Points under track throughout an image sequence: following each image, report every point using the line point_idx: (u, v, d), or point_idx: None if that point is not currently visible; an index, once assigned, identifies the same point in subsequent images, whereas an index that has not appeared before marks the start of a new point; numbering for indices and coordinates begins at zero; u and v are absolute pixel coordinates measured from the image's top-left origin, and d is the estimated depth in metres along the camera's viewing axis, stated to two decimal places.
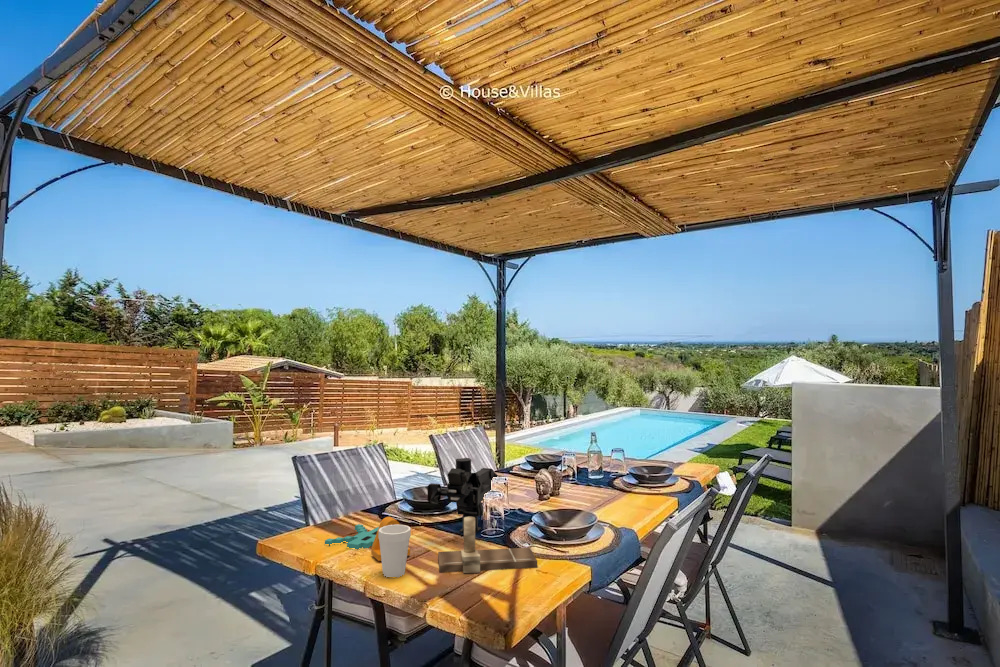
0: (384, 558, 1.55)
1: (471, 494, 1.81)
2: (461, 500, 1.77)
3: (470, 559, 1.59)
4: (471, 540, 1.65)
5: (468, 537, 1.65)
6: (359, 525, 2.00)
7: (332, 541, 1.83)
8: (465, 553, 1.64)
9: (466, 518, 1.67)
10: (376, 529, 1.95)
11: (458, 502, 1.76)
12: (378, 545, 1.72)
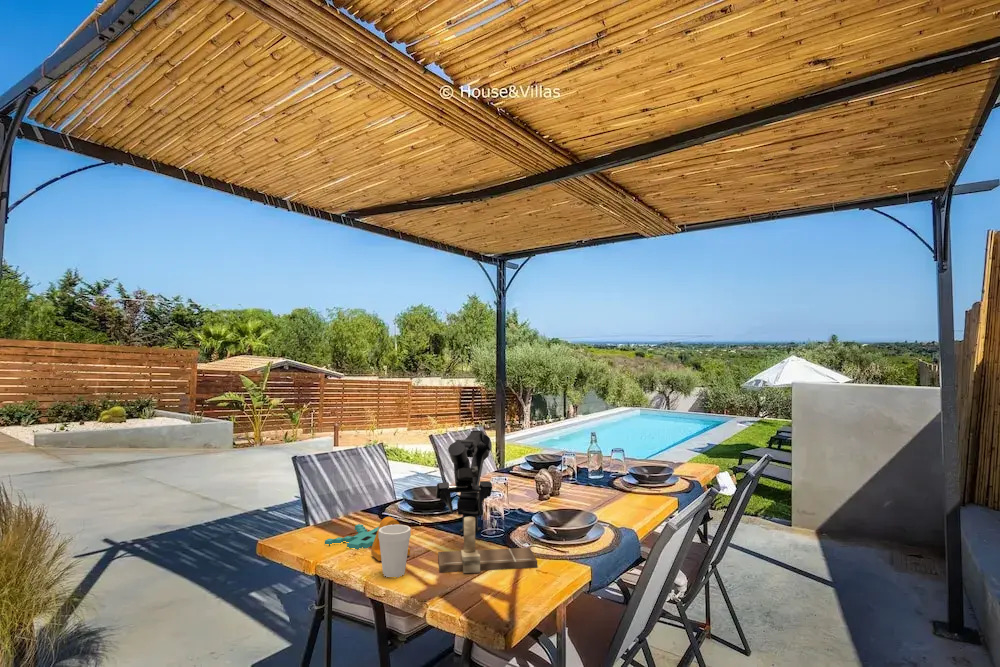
0: (384, 558, 1.55)
1: (486, 491, 1.80)
2: (481, 504, 1.77)
3: (470, 559, 1.59)
4: (471, 540, 1.65)
5: (468, 537, 1.65)
6: (359, 525, 2.00)
7: (332, 541, 1.83)
8: (465, 553, 1.64)
9: (466, 518, 1.67)
10: (376, 529, 1.95)
11: (480, 509, 1.76)
12: (378, 545, 1.72)
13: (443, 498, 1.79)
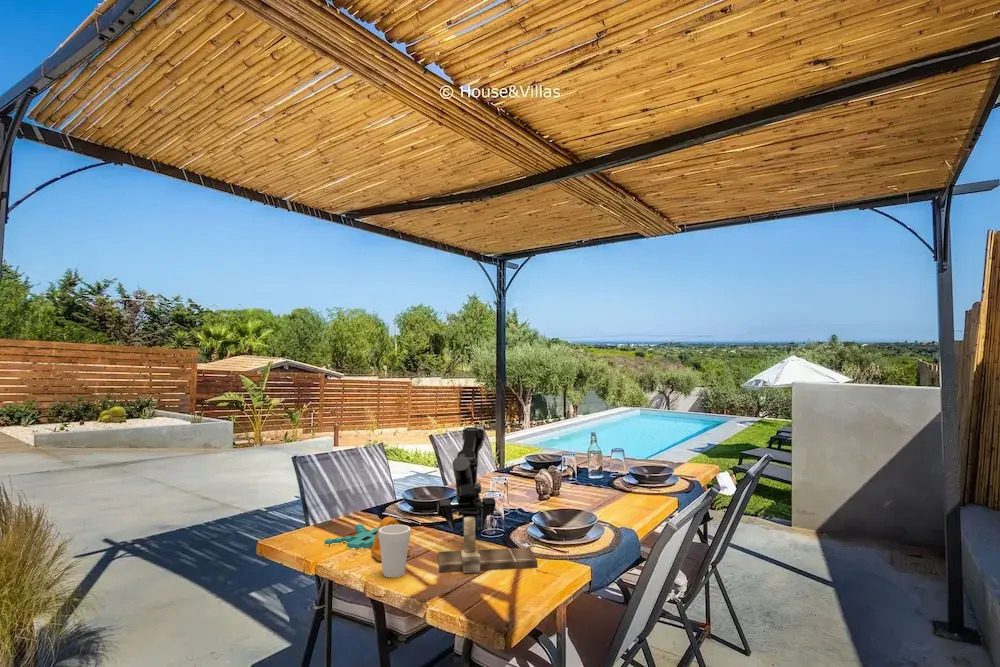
0: (384, 558, 1.55)
1: (489, 508, 1.74)
2: (484, 522, 1.71)
3: (470, 559, 1.59)
4: (471, 540, 1.65)
5: (468, 537, 1.65)
6: (359, 525, 2.00)
7: (332, 541, 1.83)
8: (465, 553, 1.64)
9: (466, 518, 1.67)
10: (376, 529, 1.95)
11: (483, 527, 1.70)
12: (378, 545, 1.72)
13: (445, 515, 1.73)
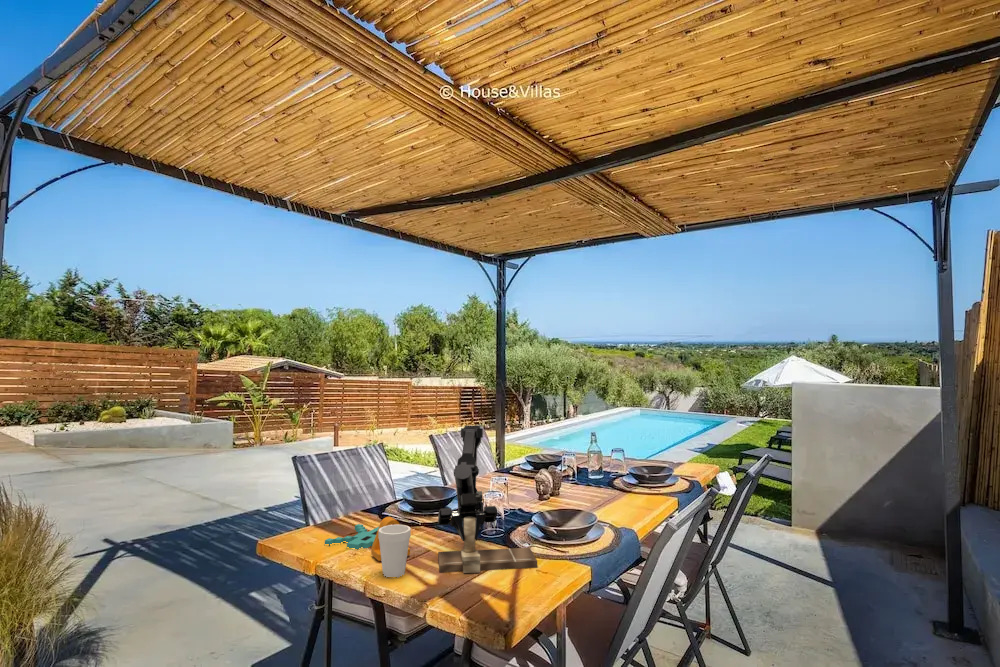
0: (384, 558, 1.55)
1: (483, 518, 1.71)
2: None
3: (470, 559, 1.59)
4: (471, 540, 1.65)
5: (468, 537, 1.65)
6: (359, 525, 2.00)
7: (332, 541, 1.83)
8: (465, 553, 1.64)
9: (466, 518, 1.67)
10: (376, 529, 1.95)
11: None
12: (378, 545, 1.72)
13: (454, 524, 1.71)
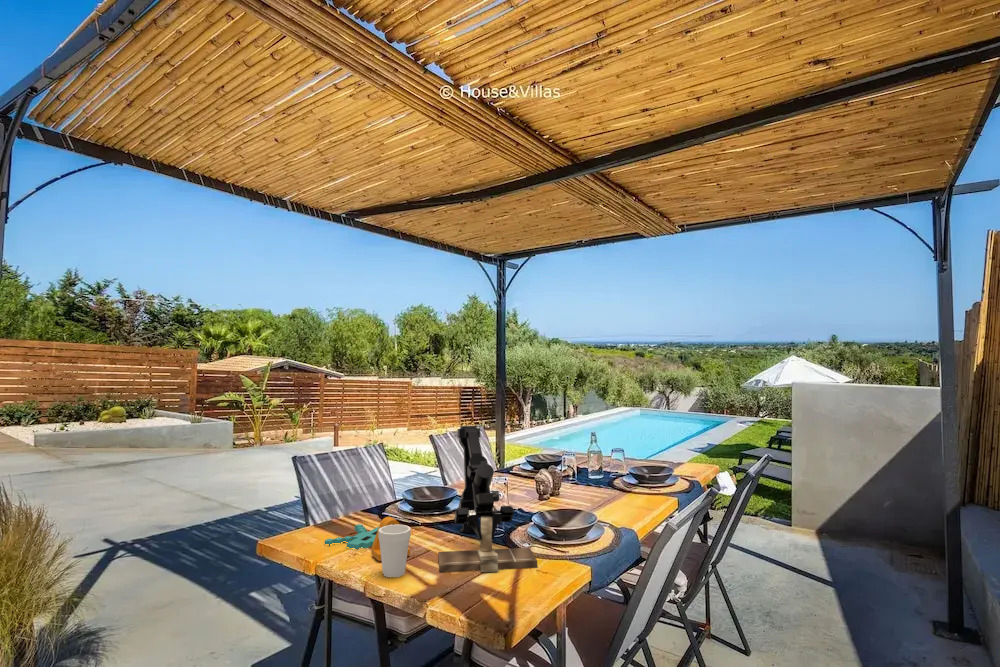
0: (384, 558, 1.55)
1: (500, 517, 1.71)
2: None
3: (488, 558, 1.59)
4: (488, 539, 1.66)
5: (485, 537, 1.66)
6: (359, 525, 2.00)
7: (332, 541, 1.83)
8: (482, 552, 1.65)
9: (483, 517, 1.68)
10: (376, 529, 1.95)
11: None
12: (378, 545, 1.72)
13: (470, 524, 1.71)
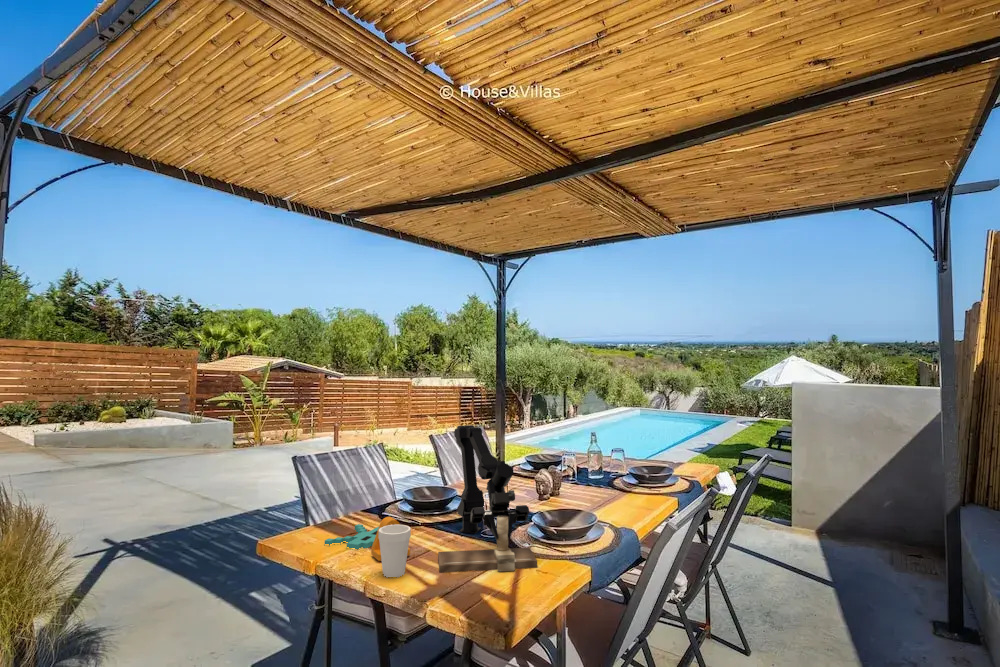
0: (384, 558, 1.55)
1: (515, 517, 1.72)
2: None
3: (505, 557, 1.60)
4: (504, 539, 1.67)
5: (501, 536, 1.67)
6: (359, 525, 2.00)
7: (332, 541, 1.83)
8: (499, 551, 1.66)
9: (499, 517, 1.69)
10: (376, 529, 1.95)
11: None
12: (378, 545, 1.72)
13: (486, 523, 1.72)
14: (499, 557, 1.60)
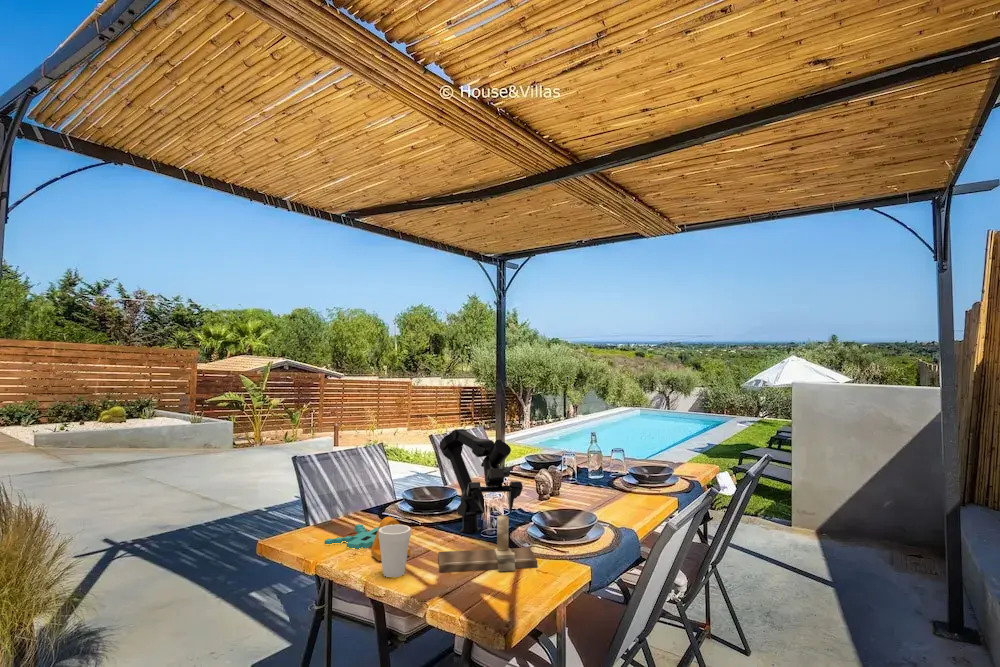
0: (384, 558, 1.55)
1: (517, 492, 1.82)
2: (512, 504, 1.79)
3: (505, 557, 1.60)
4: (505, 539, 1.67)
5: (501, 536, 1.67)
6: (359, 525, 2.00)
7: (332, 541, 1.83)
8: (499, 551, 1.66)
9: (499, 517, 1.69)
10: (376, 529, 1.95)
11: (511, 509, 1.78)
12: (378, 545, 1.72)
13: (474, 497, 1.81)
14: (499, 557, 1.60)
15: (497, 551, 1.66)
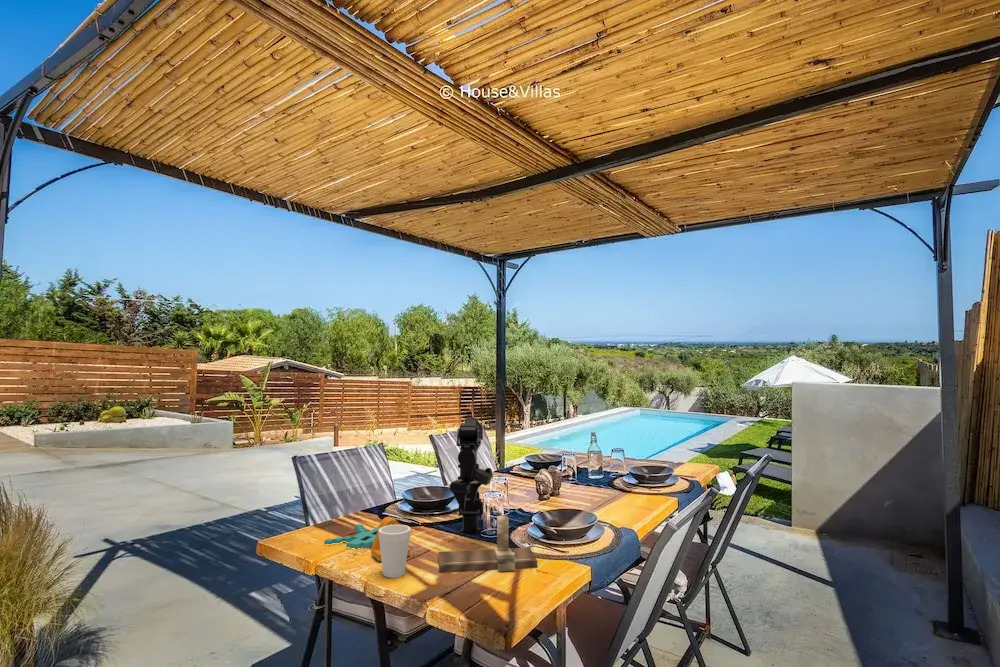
0: (384, 558, 1.55)
1: None
2: None
3: (505, 557, 1.60)
4: (505, 539, 1.67)
5: (501, 536, 1.67)
6: (359, 525, 2.00)
7: (332, 541, 1.83)
8: (499, 551, 1.66)
9: (499, 517, 1.69)
10: (376, 529, 1.95)
11: None
12: (378, 545, 1.72)
13: None
14: (499, 557, 1.60)
15: (497, 551, 1.66)
